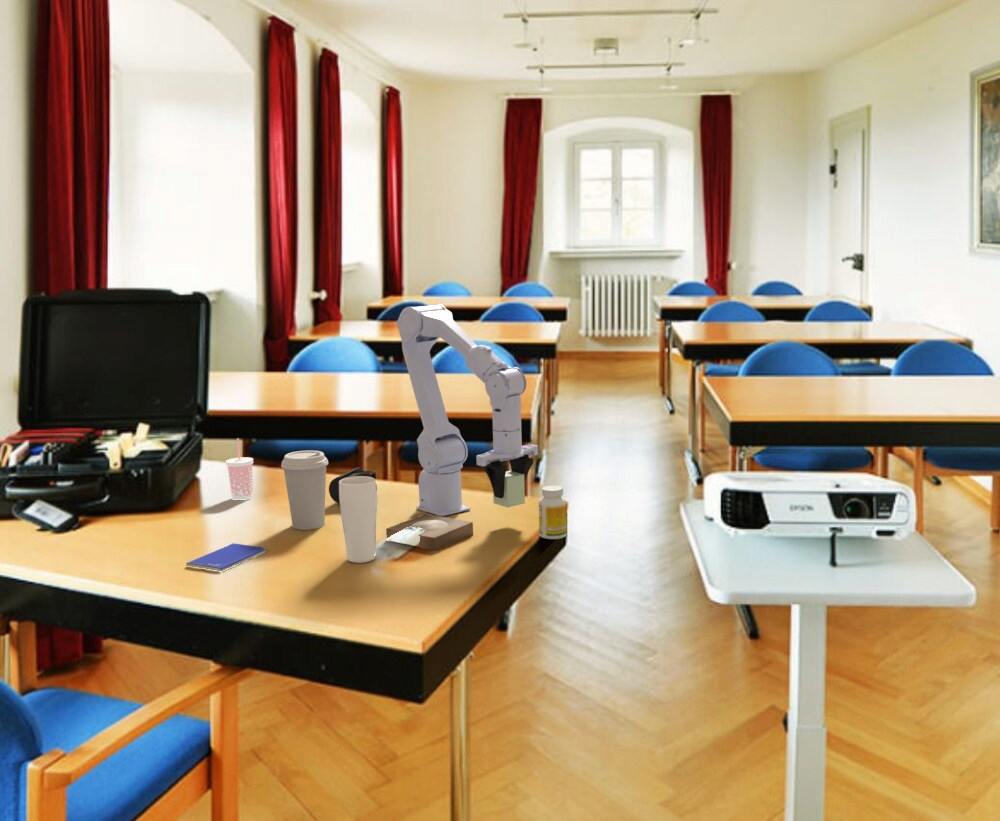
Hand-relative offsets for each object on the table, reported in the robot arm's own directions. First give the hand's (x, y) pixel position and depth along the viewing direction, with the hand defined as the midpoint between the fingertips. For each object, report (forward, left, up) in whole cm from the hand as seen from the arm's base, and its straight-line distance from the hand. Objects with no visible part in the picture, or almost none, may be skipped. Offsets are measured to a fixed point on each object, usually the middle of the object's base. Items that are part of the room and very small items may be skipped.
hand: (508, 494), depth 206 cm
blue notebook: (-20, -52, -7) cm, 56 cm away
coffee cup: (-29, -30, -6) cm, 42 cm away
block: (0, 0, -2) cm, 2 cm away
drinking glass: (-2, -34, -6) cm, 35 cm away
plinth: (-4, -17, -6) cm, 19 cm away
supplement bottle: (+12, +1, -6) cm, 14 cm away
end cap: (-39, -13, -7) cm, 42 cm away
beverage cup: (-60, -30, -6) cm, 67 cm away
